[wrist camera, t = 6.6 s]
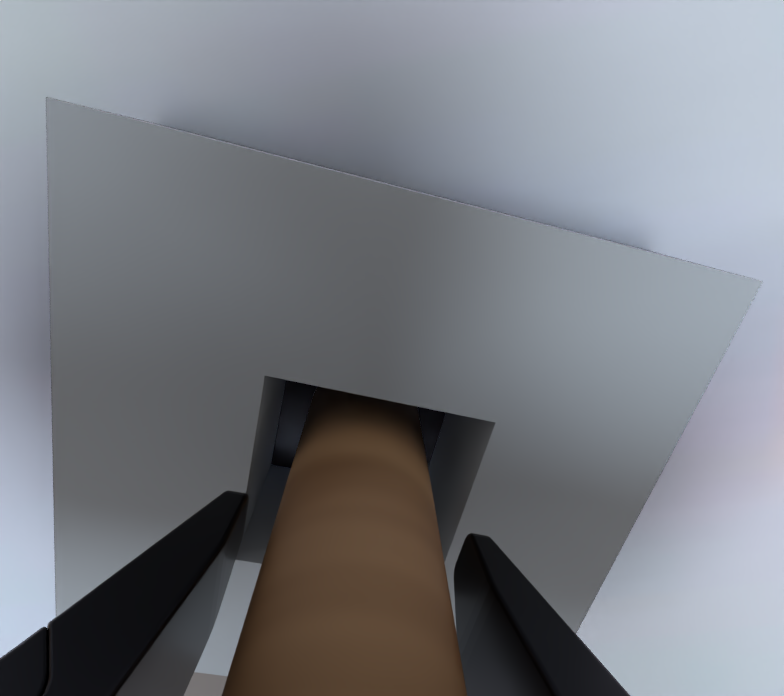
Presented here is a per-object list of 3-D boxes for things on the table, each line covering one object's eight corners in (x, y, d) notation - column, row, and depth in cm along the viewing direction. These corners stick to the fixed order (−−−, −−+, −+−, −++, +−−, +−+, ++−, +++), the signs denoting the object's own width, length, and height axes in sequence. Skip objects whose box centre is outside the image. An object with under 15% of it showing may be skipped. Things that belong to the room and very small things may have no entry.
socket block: (499, 600, 15) (532, 716, 12) (131, 542, 14) (56, 653, 11) (651, 251, 11) (762, 281, 8) (155, 123, 10) (45, 96, 7)
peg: (402, 465, 13) (443, 950, 5) (302, 445, 13) (163, 931, 5) (429, 374, 12) (537, 789, 4) (321, 351, 12) (189, 749, 4)
